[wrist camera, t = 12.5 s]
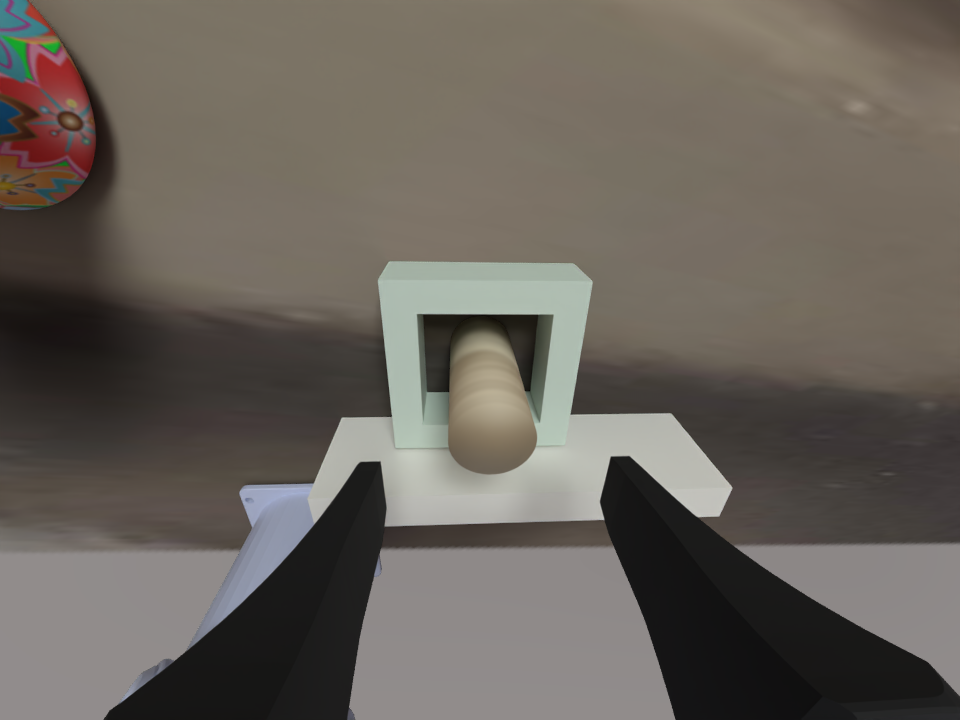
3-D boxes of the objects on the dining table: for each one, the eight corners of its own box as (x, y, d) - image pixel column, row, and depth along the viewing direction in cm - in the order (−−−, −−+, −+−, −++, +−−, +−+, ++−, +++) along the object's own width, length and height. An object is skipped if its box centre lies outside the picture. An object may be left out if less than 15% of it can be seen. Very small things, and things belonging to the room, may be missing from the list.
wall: (662, 438, 25) (719, 516, 19) (346, 444, 23) (315, 528, 18) (671, 413, 24) (732, 487, 18) (342, 417, 23) (307, 498, 17)
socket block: (552, 412, 23) (564, 445, 21) (402, 413, 23) (395, 448, 20) (573, 263, 19) (592, 281, 16) (389, 261, 18) (377, 279, 16)
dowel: (507, 369, 22) (533, 473, 15) (450, 369, 21) (448, 475, 14) (511, 316, 20) (541, 404, 13) (450, 315, 20) (447, 405, 13)
